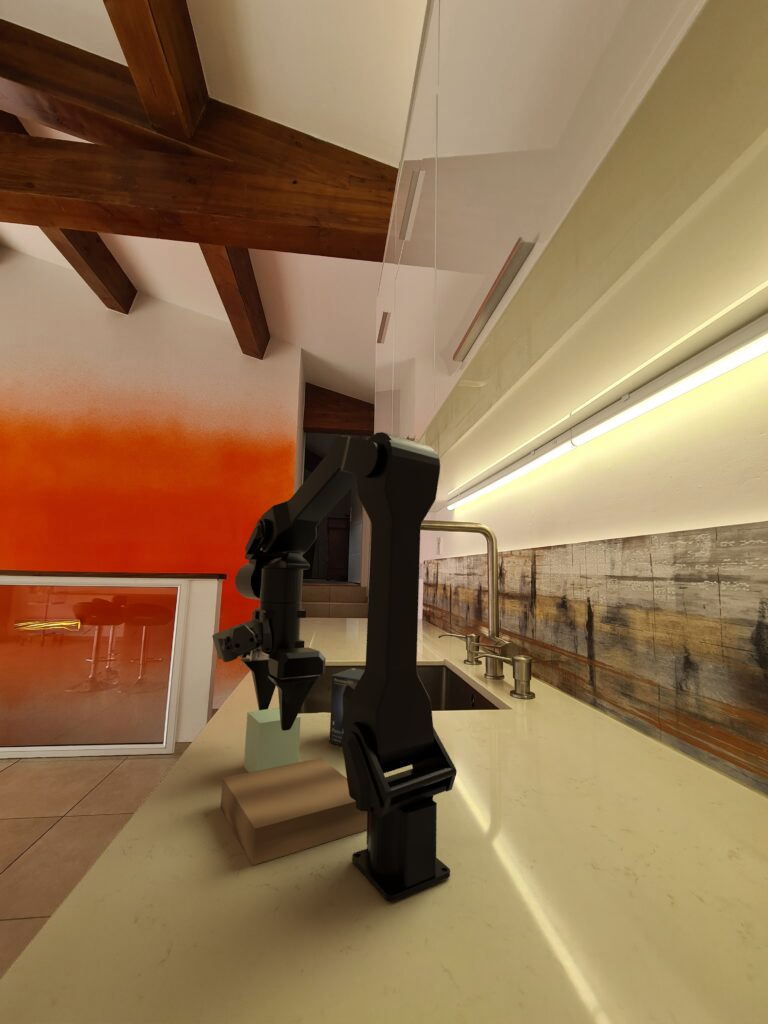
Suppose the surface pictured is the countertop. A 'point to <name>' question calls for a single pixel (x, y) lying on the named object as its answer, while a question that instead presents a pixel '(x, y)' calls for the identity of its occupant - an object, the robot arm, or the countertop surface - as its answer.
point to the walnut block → (289, 808)
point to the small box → (340, 701)
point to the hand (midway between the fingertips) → (273, 720)
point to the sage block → (270, 741)
